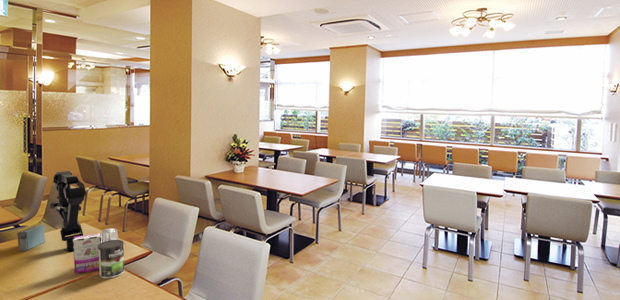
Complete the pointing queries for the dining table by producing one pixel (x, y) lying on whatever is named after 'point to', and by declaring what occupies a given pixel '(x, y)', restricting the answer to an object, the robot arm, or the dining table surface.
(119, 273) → the coffee can
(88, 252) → the candy bar box
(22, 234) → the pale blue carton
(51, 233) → the dining table surface
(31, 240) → the hinge leaf
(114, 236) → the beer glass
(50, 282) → the dining table surface
